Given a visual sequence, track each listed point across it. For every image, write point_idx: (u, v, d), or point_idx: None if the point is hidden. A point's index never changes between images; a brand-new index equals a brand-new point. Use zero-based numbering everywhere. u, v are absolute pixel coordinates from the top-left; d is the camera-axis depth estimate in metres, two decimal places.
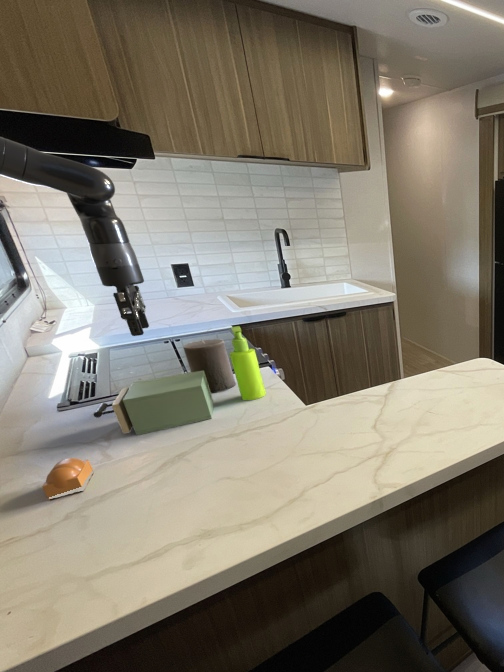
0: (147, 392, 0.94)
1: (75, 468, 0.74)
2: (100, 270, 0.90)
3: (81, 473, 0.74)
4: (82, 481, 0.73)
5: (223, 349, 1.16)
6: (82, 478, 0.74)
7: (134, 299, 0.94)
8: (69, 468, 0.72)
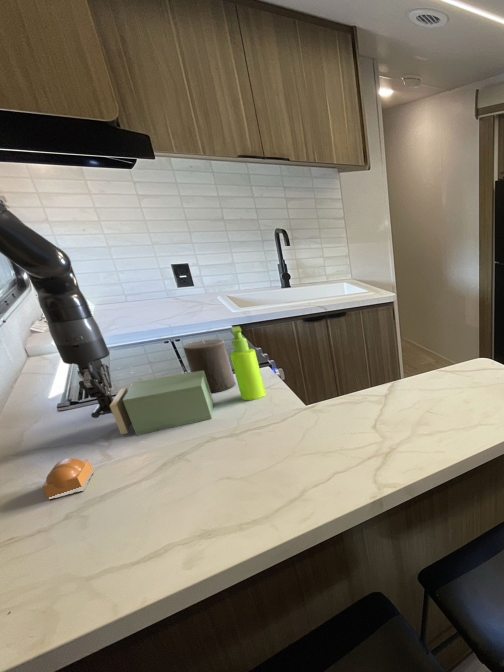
0: (147, 392, 0.94)
1: (75, 468, 0.74)
2: (60, 348, 0.85)
3: (81, 473, 0.74)
4: (82, 481, 0.73)
5: (223, 349, 1.16)
6: (82, 478, 0.74)
7: (100, 377, 0.90)
8: (69, 468, 0.72)
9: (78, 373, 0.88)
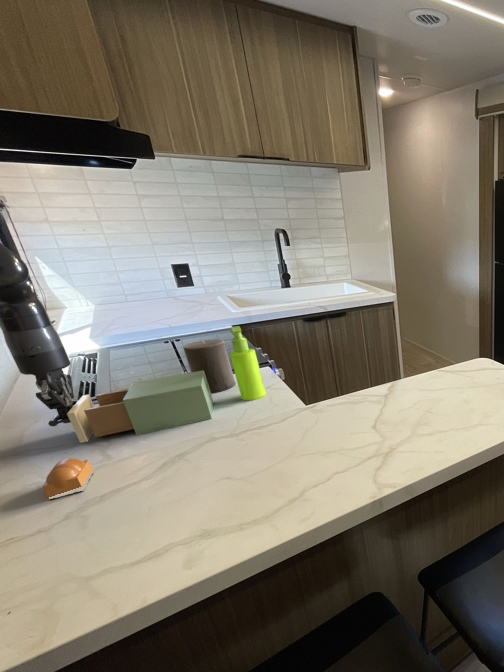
0: (147, 392, 0.94)
1: (75, 468, 0.74)
2: (16, 358, 0.82)
3: (81, 473, 0.74)
4: (82, 481, 0.73)
5: (223, 349, 1.16)
6: (82, 478, 0.74)
7: (60, 387, 0.87)
8: (69, 468, 0.72)
9: (36, 384, 0.85)
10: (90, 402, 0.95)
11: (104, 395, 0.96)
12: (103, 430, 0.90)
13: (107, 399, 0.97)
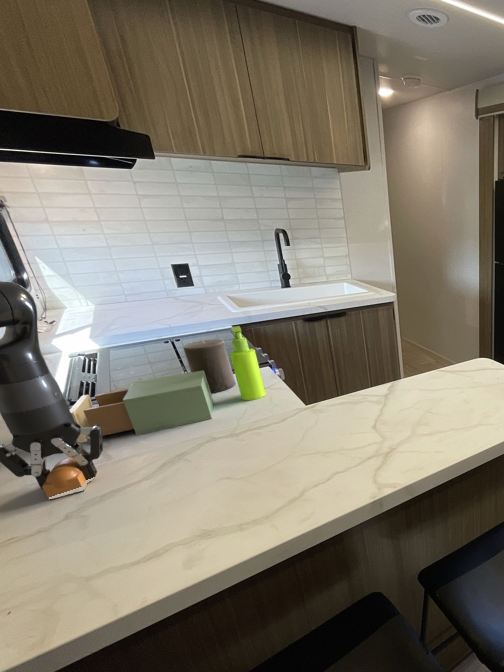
0: (147, 392, 0.94)
1: (75, 468, 0.74)
2: None
3: (81, 473, 0.74)
4: (82, 481, 0.73)
5: (223, 349, 1.16)
6: (82, 478, 0.74)
7: None
8: (69, 468, 0.72)
9: None
10: (89, 402, 0.95)
11: (103, 395, 0.96)
12: (102, 430, 0.90)
13: (106, 399, 0.97)
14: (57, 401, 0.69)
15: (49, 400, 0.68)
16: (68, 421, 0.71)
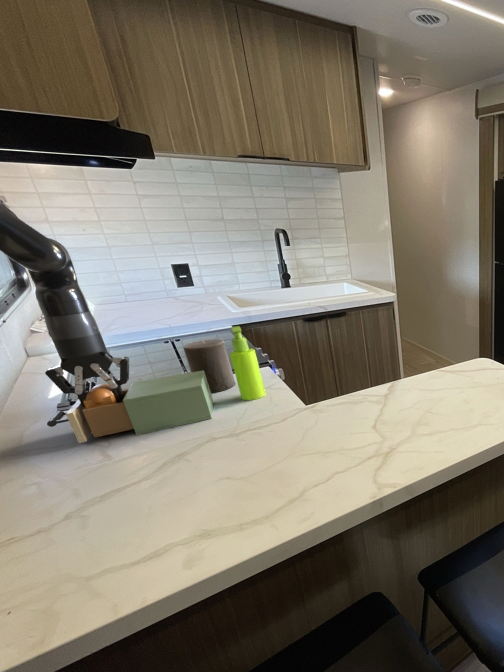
0: (147, 392, 0.94)
1: (108, 390, 0.92)
2: None
3: (113, 394, 0.92)
4: (114, 400, 0.92)
5: (223, 349, 1.16)
6: (114, 398, 0.92)
7: None
8: (103, 389, 0.91)
9: None
10: None
11: None
12: (102, 430, 0.90)
13: None
14: (95, 333, 0.88)
15: (90, 332, 0.87)
16: (103, 351, 0.90)
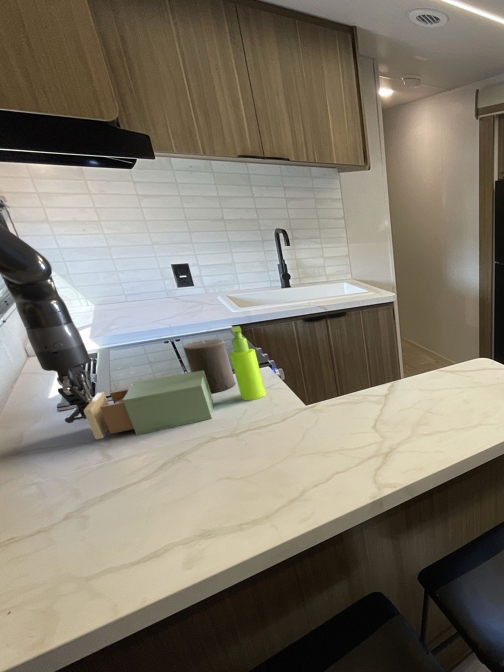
0: (147, 392, 0.94)
1: None
2: (38, 355, 0.83)
3: None
4: None
5: (223, 349, 1.16)
6: None
7: (81, 383, 0.89)
8: None
9: (58, 380, 0.86)
10: (105, 399, 0.97)
11: (118, 392, 0.97)
12: (118, 427, 0.92)
13: (121, 396, 0.98)
14: None
15: None
16: None
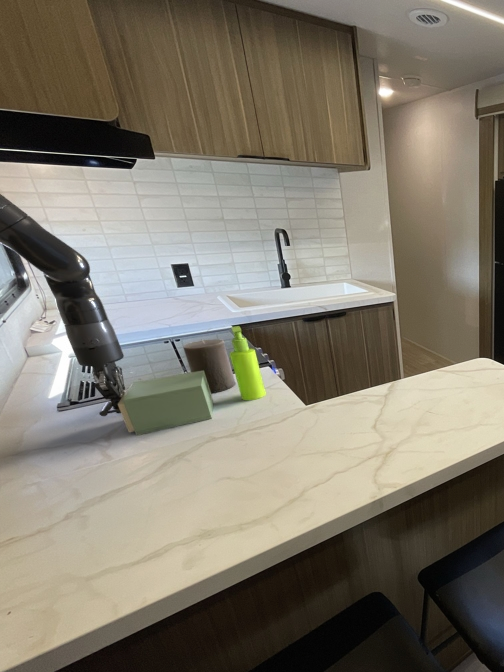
0: (147, 392, 0.94)
1: None
2: (76, 351, 0.86)
3: None
4: None
5: (223, 349, 1.16)
6: None
7: (115, 379, 0.92)
8: None
9: (93, 375, 0.89)
10: None
11: None
12: None
13: None
14: None
15: None
16: None
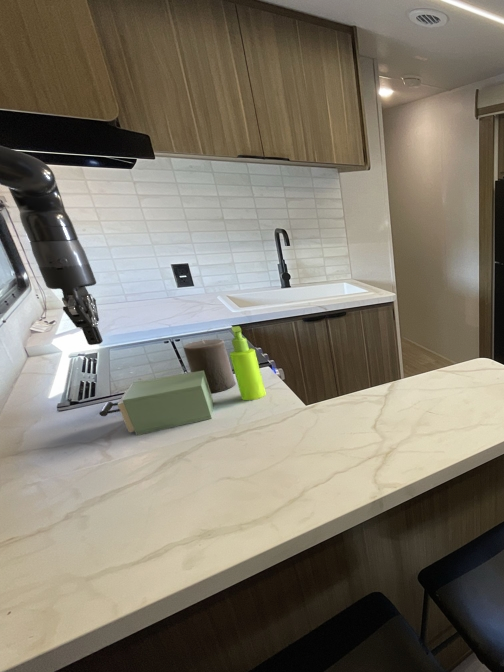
0: (147, 392, 0.94)
1: None
2: (43, 271, 0.80)
3: None
4: None
5: (223, 349, 1.16)
6: None
7: (86, 306, 0.86)
8: None
9: (63, 300, 0.83)
10: None
11: None
12: None
13: None
14: None
15: None
16: None
